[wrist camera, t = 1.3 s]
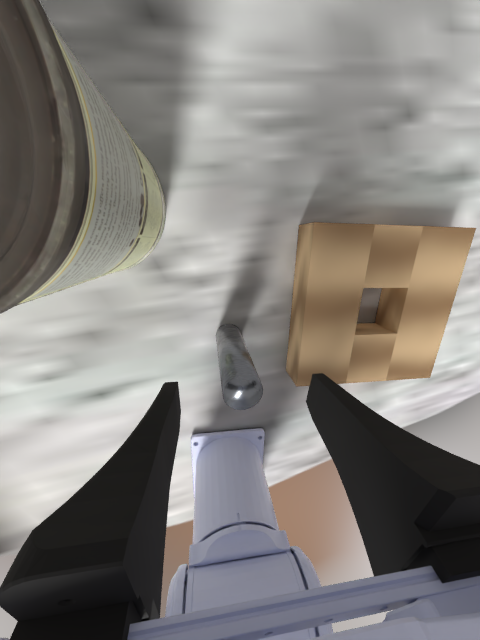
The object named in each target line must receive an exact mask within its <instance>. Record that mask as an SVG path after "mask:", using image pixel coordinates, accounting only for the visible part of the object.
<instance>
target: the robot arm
mask: <svg viewBox="0 0 480 640" xmlns="http://www.w3.org/2000/svg"><path fill="white" fill-rule="evenodd" d="M306 403H307V406H308V408H309V411H310V414H311V417H312V419H313V421H314V423H315V425H316V427H317V430H318V432H319V434H320V435H321V437H322V439H323V441H324V443H325V445H326V447H327V449H328V451H329V453H330V455H331V457H332V459H333V461H334V463H335V465H336V468H337V470H338V473H339V475H340V478H341V480H342V483H343V485H344V488H345V490H346V493H347V496H348V499H349V501H350V504H351V506H352V509H353V512H354V515H355V518H356V521H357V524H358V527H359V529H360V533H361V535H362V538H363V541H364V545H365V548H366V551H367V555H368V557H369V561H370V564H371V568H372V571H373V574H374V577H370V578H365V579H359V580H354V581H349V582H344V583H339V584H333V585H329V586H323V587H321V584H320V581H319V579H318V576H317V574H316V571H315V569H314V567H313V565H312V563H311V561H310V560H309V558H308V557H307V556H306V555H305V554H304V553H303V551H302V550H301V549H300V548H299V547H297V546H291V547H290V545H289V542H288V538H287V535H286V532H285V530H283V531H279V528H278V524H277V520H276V516H275V512H274V508H273V505H272V501H271V497H270V493H269V490H268V485H267V481H266V477H265V473H264V469H263V451H264V436H265V433H264V430H263V429H262V428H257V429H246V430H235V431H224V432H213V433H202V434H194V435H192V437H191V451H192V468H193V486H194V499H195V501H194V525H193V544H192V545H190V551H189V552H190V553H189V570H188V565H187V564H183V565H180V566H179V568H178V570H177V572H176V573H175V575H174V576H173V578H172V579H171V583H170V587H169V593H168V598H167V606H166V614H165V617H164V618H160V605H161V591H162V590H161V589H162V576H163V562H164V561H163V560H164V548H165V535H166V524H167V512H168V501H169V490H170V482H171V475H172V470H173V464H174V459H175V453H176V447H177V442H178V436H179V429H180V415H181V408H180V398H179V388H178V382H165V383H164V384H163V386H162V388H161V390H160V392H159V394H158V395H157V397H156V399H155V400H154V402H153V404H152V405H151V407H150V408H149V410H148V411H147V413H146V414H145V416H144V417H143V419H142V420H141V421H140V423H139V424H138V426H137V427H136V428H135V430H134V431H133V432H132V434H131V435H130V436H129V437H128V439H127V440H126V441H125V442H124V444H123V445H122V446H121V447H120V448H119V449H118V451H117V452H116V453H115V454H114V455H113V456H112V457H111V458H110V459H109V461H108V462H107V463H106V464H105V465H104V466H103V467H102V468H101V469H100V470H99V471H98V472H97V473H96V474H95V475H94V476H93V477H92V478H91V479H90V480H89V481H88V482H87V483H86V484H85V485H84V486H83V487H82V488H81V489H79V490H78V491H77V492H76V493H75V494H74V495H73V496H72V497H71V498H70V499H69V500H68V501H67V502H65V503H64V504H63V505H62V506H61V507H60V508H58V509H57V510H56V511H55V512H54V513H53V514H51V515H50V516H49V517H48V518H47V519H45V520H44V521H43V522H42V523H41V524H40V525H38V526H37V527H36V528H35V529H33V530H32V532H31V534H30V535H29V537H28V539H27V540H26V542H25V543H24V545H23V546H22V548H21V550H20V551H19V553H18V555H17V556H16V558H15V560H14V562H13V564H12V566H11V568H10V570H9V572H8V574H7V575H6V577H5V579H4V581H3V583H2V585H1V587H0V606H1V608H3V609H4V610H5V611H6V612H8V613H9V614H10V615H11V616H13V617H14V618H15V619H16V620H17V621H18V622H17V625H16V627H15V629H14V631H13V633H12V636H11V638H10V639H8V638H0V640H480V465H478V464H475V463H473V462H470V461H468V460H465V459H463V458H461V457H458V456H456V455H454V454H451V453H449V452H447V451H445V450H443V449H440V448H438V447H436V446H434V445H432V444H430V443H428V442H426V441H424V440H422V439H420V438H418V437H416V436H414V435H413V434H411V433H409V432H407V431H405V430H403V429H402V428H400V427H398V426H396V425H395V424H393V423H391V422H390V421H388V420H387V419H385V418H383V417H382V416H380V415H379V414H377V413H376V412H374V411H373V410H371V409H370V408H368V407H367V406H366V405H364V404H363V403H361V402H360V401H359V400H357V399H356V398H355V397H353V396H352V395H351V394H349V393H348V392H347V391H345V390H344V389H343V388H342V387H340V386H339V385H338V384H336V383H335V382H334V381H333V380H331V379H330V378H329V377H327V376H326V375H325V374H323V373H317V374H312V378H311V382H310V386H309V391H308V395H307V400H306ZM259 436H261V437H259ZM194 442H198V443H194ZM395 609H396V610H395ZM390 610H393V611H391V612H388V613H387V614H386V618H385V620H384V621H383V622H382V623H377V624H373V625H368V626H364V627H359V628H355V629H350V630H345V631H341V632H336V633H333V629H332V624H331V623H335V622H339V621H345V620H349V619H354V618H358V617H362V616H367V615H372V614H376V613H381V612H385V611H390Z"/></svg>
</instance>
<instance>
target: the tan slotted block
mask: <svg viewBox="0 0 480 640" xmlns="http://www.w3.org/2000/svg"><path fill="white" fill-rule="evenodd" d="M475 230H476V228H461V227H433V226H405V225H376V224H348V223H320V222H313V223H308V224H303V225H299V231H298V242H297V253H296V264H295V275H294V286H293V297H292V308H291V320H290V331H289V342H288V353H287V364H286V371H287V372H288V374H289V376H290V377H291V379H292V380H293V382H294V383H295V385H296V387H297V386H310V382H311V378H312V374H317V373H323V374H325V375H326V376H327V377H329V378H330V379H331V380H333V381H334V382H335V383H336V384H342V383H357V382H372V381H387V380H402V379H416V378H430V376H431V372H432V369H433V366H434V363H435V359H436V356H437V353H438V350H439V347H440V343H441V340H442V337H443V334H444V330H445V327H446V324H447V321H448V317H449V314H450V311H451V308H452V304H453V301H454V298H455V295H456V291H457V288H458V285H459V282H460V278H461V275H462V272H463V269H464V265H465V262H466V259H467V256H468V253H469V249H470V246H471V243H472V240H473V236H474V233H475ZM363 288H382V291H381V296H380V300H379V305H378V310H377V315H376V320H375V323H360V324H357V320H358V314H359V309H360V303H361V298H362V293H363Z"/></svg>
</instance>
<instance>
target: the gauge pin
mask: <svg viewBox="0 0 480 640" xmlns="http://www.w3.org/2000/svg"><path fill="white" fill-rule="evenodd" d="M216 341H217V350H218V358H219V367H220V376H221V384H222V393H223V399H224V401H225V403H226V404H227V405H228V406H229V407H231V408H233V409H237V410H244V409H248V408H251V407H253V406H254V405H256V404H257V403H258V402H259V400H260V399H261V397H262V394H263V388H262V384H261V382H260V379H259V377H258V374H257V372H256V369H255V367H254V364H253V362H252V359H251V357H250V354H249V352H248V349H247V347H246V344H245V342H244V339H243V337H242V334H241V332H240V330H239V328H238V327H236V326H235V325H232V324H226V325H223V326H222V327H220V328H219V329H218V331H217V333H216Z"/></svg>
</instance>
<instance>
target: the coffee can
mask: <svg viewBox="0 0 480 640" xmlns="http://www.w3.org/2000/svg"><path fill="white" fill-rule="evenodd" d="M164 222H165V201H164V195H163V191H162V188H161V185H160V182H159V179H158V176H157V174H156V172H155V171H154V169H153V167H152V166H151V164H150V162H149V161H148V159H147V158H146V157H145V155H144V154H143V153H142V152H141V151H140V150H139V148H138V147H137V146H136V144H135V143H134V142H133V140H132V139H131V137H130V136H129V134H128V133H127V131H126V130H125V129H124V127H123V125H122V124H121V122H120V121H119V120H118V118H117V117H116V115H115V114H114V113H113V111H112V110H111V108H110V107H109V105H108V104H107V103H106V101H105V100H104V98H103V97H102V95H101V94H100V92H99V91H98V90H97V88H96V87H95V85H94V84H93V82H92V81H91V79H90V78H89V77H88V75H87V74H86V72H85V71H84V69H83V68H82V66H81V65H80V64H79V62H78V61H77V59H76V58H75V56H74V55H73V54H72V52H71V51H70V49H69V48H68V46H67V45H66V44H65V42H64V41H63V39H62V38H61V36H60V35H59V33H58V32H57V30H56V29H55V28H54V26H53V25H52V23H51V22H50V20H49V19H48V17H47V16H46V13H45V11H44V10H43V8H42V6H41V4H40V2H39V0H0V314H1V313H3V312H5V311H7V310H8V309H10V308H12V307H14V306H17V305H19V304H22V303H25V302H28V301H31V300H34V299H37V298H40V297H43V296H46V295H49V294H52V293H54V292H58V291H61V290H64V289H66V288H69V287H72V286H75V285H78V284H80V283H83V282H86V281H89V280H93V279H96V278H98V277H101V276H104V275H107V274H111V273H113V272H117V271H122V270H125V269H129V268H131V267H133V266H135V265H137V264H138V263H140V262H141V261H143V260H144V259H145V258H146V257H147V256H148V255H149V254H150V253H151V252H152V251H153V249H154V248H155V246H156V245H157V243H158V241H159V239H160V237H161V235H162V232H163V228H164Z"/></svg>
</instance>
